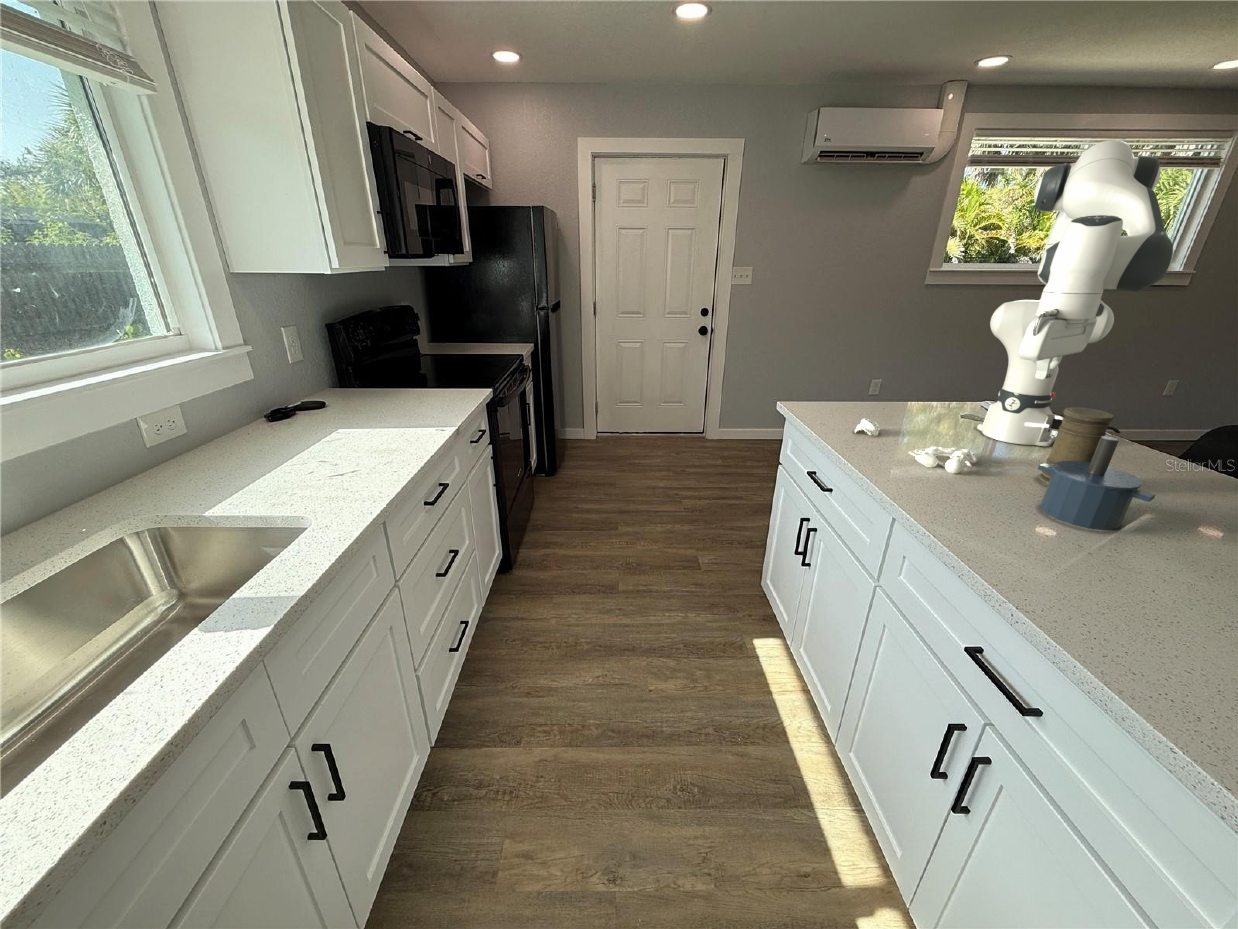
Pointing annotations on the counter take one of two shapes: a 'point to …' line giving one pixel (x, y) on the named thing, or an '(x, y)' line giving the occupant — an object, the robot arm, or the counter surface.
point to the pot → (1087, 502)
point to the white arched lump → (868, 427)
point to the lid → (1099, 469)
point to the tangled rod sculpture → (951, 465)
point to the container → (1077, 437)
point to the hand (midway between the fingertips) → (1043, 378)
